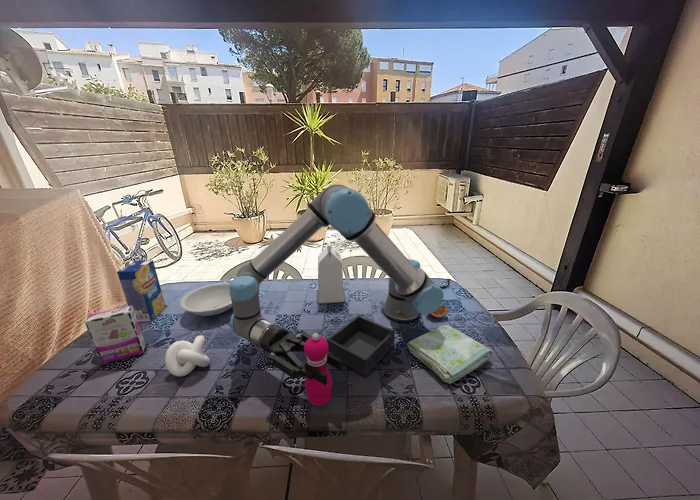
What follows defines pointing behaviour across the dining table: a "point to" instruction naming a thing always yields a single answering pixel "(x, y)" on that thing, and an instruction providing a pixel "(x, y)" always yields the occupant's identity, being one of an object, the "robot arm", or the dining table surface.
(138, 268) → the blue cracker box
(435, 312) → the fruit slice
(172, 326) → the dining table surface
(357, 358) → the open box
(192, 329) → the dining table surface
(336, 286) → the milk
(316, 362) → the pepper mill
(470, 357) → the towel
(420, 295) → the robot arm
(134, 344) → the candy bar box
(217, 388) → the dining table surface
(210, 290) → the soup bowl
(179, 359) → the white knot sculpture
